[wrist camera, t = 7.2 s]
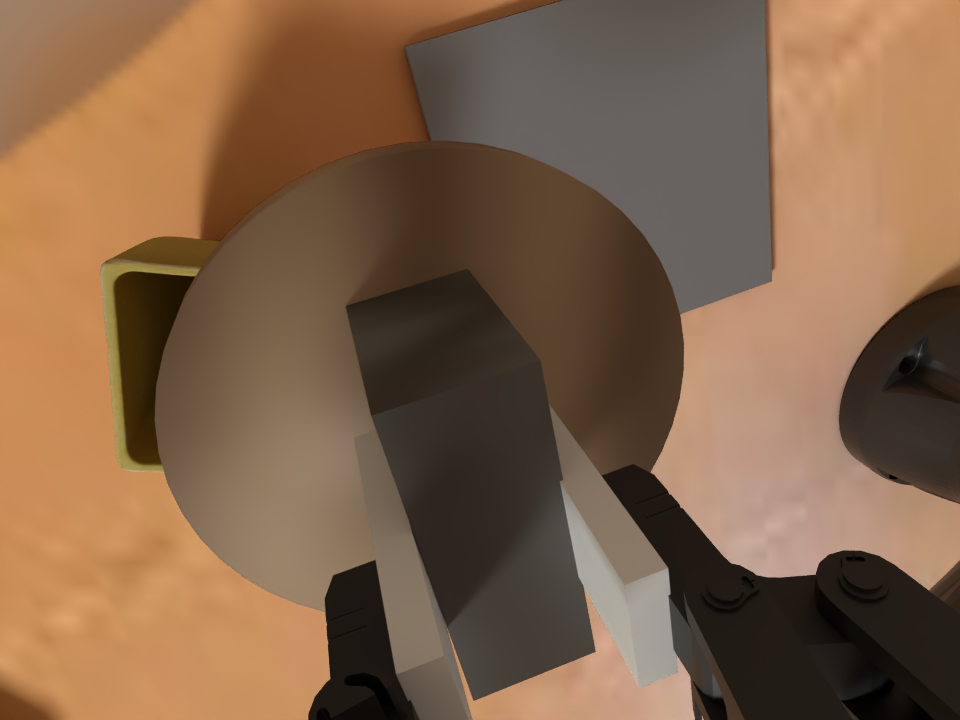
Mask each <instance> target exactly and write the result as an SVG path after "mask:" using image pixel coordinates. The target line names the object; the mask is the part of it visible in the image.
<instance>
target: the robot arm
mask: <svg viewBox="0 0 960 720" xmlns="http://www.w3.org/2000/svg"><path fill="white" fill-rule="evenodd" d="M549 407H550V413H551V418H552V423H553V428H554V434H555V439H556V444H557V450H558V455H559V460H560V466H561V471H562V476H563V480H562V481H560V485H561V490H562V495H563V500H564V505H565V510H566V515H567V520H568V525H569V531H570V536H571V541H572V546H573V551H574V556H575V561H576V566H577V571H578V576H579V578H580V580H581V582H582V584H583V586H584V588H585V589H586V591H587V593H588V595H589V597H590V599H591V600H592V602H593V604H594V606H595V608H596V610H597V611H598V613H599V615H600V617H601V619H602V620H603V622H604V624H605V626H606V628H607V630H608V631H609V633H610V635H611V637H612V639H613V641H614V642H615V644H616V646H617V648H618V650H619V652H620V653H621V655H622V657H623V659H624V661H625V662H626V664H627V666H628V668H629V670H630V672H631V673H632V675H633V677H634V679H635V681H636V683H637V684H638V686H639V688H642V687H644V686H646V685H649V684H651V683H654V682H656V681H658V680H661V679H663V678H666V677H668V676H670V675H673V674H675V673H677V672H678V667H677V656H678V657H679V659H680V661H681V662H682V664H683V665H684V667H685V668H686V670H687V672H688V673H689V675H690V677H691V690H692V702H693V711H694V716H695V720H702V717H703V719H704V720H960V561H959V562H958V563H957V564H956V565H955V566H954V567H953V568H952V569H951V570H950V571H949V572H948V573H947V574H946V575H945V576H944V577H943V578H942V579H940V580H939V581H938V582H937V583H936V584H935V585H934V586H933V587H932V588H931V589H930V590H927V589H926V588H925V587H923V586H922V585H921V584H919V583H918V582H917V581H915V580H914V579H913V578H911V577H910V576H909V575H907V574H906V573H905V572H903V571H902V570H901V569H899V568H898V567H897V566H895V565H894V564H892V563H890V562H889V561H887V560H885V559H883V558H882V557H880V556H877V555H874V554H870V553H867V552H863V551H845V550H843V551H840V552H836V553H833V554H830V555H828V556H827V557H826V558H824V559H823V560H822V561H821V562H820V563H819V565H818V568H817V572H816V575H807V576H795V577H783V578H768V577H762V576H757V575H755V574H754V573H753V572H751V571H749V570H748V569H746V568H744V567H742V566H740V565H736V564H731V563H730V562H729V561H728V560H727V559H726V558H725V557H723V555H722V554H721V553H720V552H719V551H718V550H717V548H716V547H715V546H714V545H713V544H712V542H711V541H710V540H709V539H708V538H707V537H706V535H705V534H704V533H703V532H702V531H701V529H700V528H699V527H698V526H697V525H696V524H695V522H694V521H693V520H692V519H691V518H690V516H689V515H688V514H687V513H686V512H685V511H684V509H683V508H680V505H679V504H678V502H677V501H676V500H675V499H674V498H673V496H672V495H669V493H668V491H667V489H666V488H665V487H664V486H663V485H662V483H661V482H660V481H659V480H658V479H657V478H656V476H655V475H653V474H652V473H650V472H648V471H646V470H644V469H642V468H640V467H638V466H636V465H635V464H632V465H629V466H626V467H623V468H621V469H618V470H615V471H612V472H610V473H607V474H604V475H600V473H599V472H598V471H597V469H596V468H595V466H594V465H593V464H592V462H591V461H590V460H589V458H588V457H587V455H586V454H585V453H584V451H583V450H582V449H581V447H580V446H579V444H578V443H577V442H576V440H575V439H574V437H573V436H572V435H571V433H570V432H569V431H568V429H567V428H566V426H565V425H564V424H563V422H562V421H561V420H560V418H559V417H558V415H557V414H556V413H555V411H554V410H553V409H552V407H551V406H550V404H549ZM839 426H840V433H841V437H842V440H843V442H844V445H845V446H846V448H847V450H848V451H849V452H850V453H851V455H852V456H853V457H855V458H856V459H857V460H858V461H860V462H861V463H863V464H864V465H865V466H867V467H868V468H869V469H871V470H872V471H874V472H875V473H876V474H878V475H880V476H881V477H883V478H885V479H887V480H890V481H893V482H896V483H900V484H905V485H912V486H914V487H916V488H918V489H920V490H923V491H925V492H928V493H930V494H933V495H935V496H938V497H941V498H944V499H947V500H950V501H953V502H956V503H959V504H960V286H955V287H950V288H947V289H943V290H940V291H938V292H935V293H933V294H931V295H929V296H927V297H925V298H923V299H921V300H919V301H917V302H916V303H914V304H913V305H911V306H910V307H908V308H907V309H905V310H904V311H903V312H901V313H900V314H899V315H898V316H896V317H895V318H894V319H893V320H892V321H891V322H890V323H889V324H887V325H886V326H885V327H884V328H883V329H882V330H881V332H880V333H879V334H878V335H877V336H876V337H875V338H874V339H873V341H872V342H871V343H870V344H869V346H868V347H867V348H866V350H865V351H864V352H863V354H862V355H861V357H860V359H859V360H858V362H857V363H856V365H855V367H854V369H853V371H852V373H851V375H850V377H849V379H848V382H847V384H846V387H845V390H844V393H843V396H842V400H841V405H840V413H839ZM354 442H355V448H356V453H357V459H358V465H359V470H360V476H361V481H362V487H363V493H364V498H365V504H366V509H367V515H368V520H369V526H370V532H371V537H372V543H373V548H374V554H375V560H373V561H371V562H368V563H365V564H362V565H360V566H357V567H354V568H352V569H349V570H346V571H343V572H341V573H338V574H335V575H333V577H332V580H331V582H330V585H329V588H328V590H327V593H326V596H325V612H326V622H327V639H328V643H329V644H328V652H329V665H330V678H331V679H330V680H329V681H328V682H326V684H325V685H324V686H323V687H322V689H321V690H320V691H319V693H318V694H317V695H316V696H315V698H314V701H313V704H312V706H311V709H310V711H309V714H308V720H472V716H471V713H470V709H469V706H468V702H467V699H466V695H465V691H464V688H463V684H462V681H461V677H460V673H459V670H458V666H457V663H456V659H455V656H454V652H453V648H452V645H451V641H450V638H449V634H448V630H447V627H446V623H445V620H444V617H443V614H442V611H441V609H440V606H439V603H438V600H437V598H436V595H435V592H434V589H433V586H432V584H431V581H430V578H429V575H428V573H427V570H426V567H425V564H424V562H423V559H422V556H421V553H420V550H419V548H418V545H417V542H416V539H415V537H414V534H413V531H412V528H411V526H410V523H409V520H408V517H407V514H406V512H405V509H404V506H403V503H402V501H401V498H400V495H399V492H398V489H397V487H396V484H395V481H394V478H393V476H392V473H391V470H390V467H389V465H388V462H387V459H386V456H385V453H384V451H383V448H382V445H381V442H380V440H379V437H378V434H377V431H376V430H374V431H371V432H368V433H365V434H362V435H359V436H356V437H354ZM676 654H677V656H676Z"/></svg>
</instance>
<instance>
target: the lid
mask: <svg viewBox="0 0 960 720" xmlns="http://www.w3.org/2000/svg"><path fill="white" fill-rule="evenodd" d="M683 371H684V341H683V333H682V325H681V318H680V312H679V309H678V305H677V302H676V298H675V295H674V291H673V288H672V285H671V283H670V281H669V279H668V276H667V274H666V272H665V270H664V268H663V265H662V263H661V261H660V259H659V258H658V256H657V255H656V253H655V252H654V250H653V249H652V247H651V245H650V244H649V242H648V241H647V239H646V238H645V236H644V235H643V234H642V233H641V231H640V230H639V229H638V228H637V227H636V226H635V225H634V224H633V223H632V222H631V220H630V219H629V218H628V217H627V216H626V215H625V214H624V213H623V212H622V211H621V210H620V209H619V208H617V207H616V206H615V205H614V204H612V203H611V202H610V201H609V200H608V199H606V198H605V197H604V196H603V195H601V194H600V193H599V192H598V191H596V190H595V189H593V188H591V187H589V186H588V185H586V184H584V183H582V182H581V181H579V180H577V179H575V178H574V177H572V176H570V175H568V174H567V173H565V172H563V171H561V170H559V169H557V168H554V167H552V166H550V165H548V164H546V163H543V162H541V161H538V160H535V159H533V158H530V157H528V156H525V155H523V154H520V153H517V152H515V151H510V150H506V149H502V148H497V147H493V146H488V145H484V144H480V143H467V142H455V141H443V140H441V141H425V142H408V143H400V144H395V145H390V146H385V147H380V148H375V149H370V150H365V151H361V152H359V153H356V154H353V155H350V156H347V157H344V158H341V159H339V160H336V161H333V162H330V163H327V164H325V165H323V166H321V167H319V168H317V169H315V170H313V171H311V172H309V173H307V174H305V175H303V176H301V177H299V178H297V179H295V180H293V181H291V182H289V183H288V184H287V185H285V186H284V187H282V188H281V189H280V190H278V191H277V192H275V193H274V194H272V195H271V196H270V197H268V198H267V199H265V200H264V201H262V202H261V203H260V204H258V205H257V206H256V207H255V208H253V209H252V210H251V211H250V212H249V213H248V214H247V215H246V216H245V217H244V218H243V219H242V220H241V221H240V222H238V223H237V224H236V225H235V226H234V227H233V228H232V229H231V230H230V231H229V232H228V233H227V234H226V235H225V237H224V238H223V239H222V240H221V242H220V243H219V244H218V245H217V247H216V248H215V249H214V250H213V252H212V253H211V254H210V255H209V257H208V258H207V259H206V260H205V262H204V263H203V265H202V266H201V268H200V270H199V272H198V273H197V275H196V277H195V278H194V280H193V282H192V284H191V285H190V287H189V289H188V291H187V292H186V294H185V296H184V299H183V301H182V304H181V306H180V309H179V312H178V314H177V317H176V319H175V322H174V324H173V327H172V330H171V332H170V335H169V338H168V340H167V343H166V345H165V348H164V351H163V356H162V361H161V365H160V370H159V375H158V380H157V384H156V402H155V427H156V435H157V443H158V451H159V456H160V459H161V463H162V466H163V469H164V473H165V476H166V479H167V483H168V485H169V488H170V490H171V492H172V494H173V496H174V498H175V500H176V502H177V504H178V506H179V508H180V510H181V512H182V514H183V515H184V516H185V518H186V519H187V521H188V522H189V523H190V525H191V526H192V528H193V529H194V531H195V532H196V533H197V535H198V536H199V538H200V539H201V540H202V541H203V542H204V543H205V544H206V545H207V546H208V547H209V548H210V549H211V550H212V551H213V552H214V553H215V554H216V555H217V556H218V557H219V558H220V559H221V560H222V561H223V562H224V563H226V564H227V565H228V566H230V567H231V568H232V569H234V570H235V571H236V572H237V573H239V574H240V575H241V576H243V577H244V578H245V579H247V580H249V581H251V582H252V583H254V584H256V585H258V586H259V587H261V588H263V589H265V590H266V591H268V592H270V593H272V594H274V595H277V596H279V597H282V598H284V599H286V600H289V601H291V602H294V603H296V604H299V605H302V606H306V607H309V608H313V609H316V610H320V611H323V612H325V596H326V593H327V590H328V588H329V585H330V582H331V580H332V577H333V575H335V574H338V573H341V572H343V571H346V570H349V569H352V568H354V567H357V566H360V565H362V564H365V563H368V562H371V561H373V560H375V554H374V548H373V543H372V537H371V532H370V526H369V520H368V515H367V509H366V504H365V498H364V493H363V487H362V481H361V476H360V470H359V465H358V459H357V453H356V448H355V442H354V437H356V436H359V435H362V434H365V433H368V432H371V431H374V430H376V431H377V434H378V437H379V440H380V442H381V445H382V448H383V451H384V453H385V456H386V459H387V462H388V465H389V467H390V470H391V473H392V476H393V478H394V481H395V484H396V487H397V489H398V492H399V495H400V498H401V501H402V503H403V506H404V509H405V512H406V514H407V517H408V520H409V523H410V526H411V528H412V531H413V534H414V537H415V539H416V542H417V545H418V548H419V550H420V553H421V556H422V559H423V562H424V564H425V567H426V570H427V573H428V575H429V578H430V581H431V584H432V586H433V589H434V592H435V595H436V598H437V600H438V603H439V606H440V609H441V611H442V614H443V617H444V620H445V623H446V625H447V628H448V631H449V634H450V636H451V639H452V642H453V645H454V647H455V650H456V653H457V656H458V659H459V661H460V664H461V667H462V670H463V672H464V675H465V678H466V681H467V684H468V686H469V689H470V692H471V695H472V697H473V700H474V701H475V700H477V699H479V698H482V697H484V696H487V695H489V694H492V693H494V692H497V691H499V690H502V689H504V688H507V687H509V686H512V685H514V684H517V683H519V682H522V681H524V680H527V679H529V678H532V677H534V676H537V675H539V674H542V673H544V672H547V671H549V670H552V669H554V668H556V667H559V666H561V665H564V664H566V663H569V662H571V661H574V660H576V659H579V658H581V657H584V656H586V655H589V654H591V653H594V652H596V651H595V646H594V640H593V635H592V630H591V624H590V619H589V614H588V609H587V603H586V598H585V593H584V587H583V584H582V582H581V580H580V578H579V576H578V571H577V566H576V561H575V556H574V551H573V546H572V541H571V536H570V531H569V525H568V520H567V515H566V510H565V505H564V500H563V495H562V490H561V485H560V481H562V480H563V476H562V471H561V466H560V460H559V455H558V450H557V444H556V439H555V434H554V428H553V423H552V418H551V413H550V407H549V404H550V406H551V407H552V409H553V410H554V411H555V413H556V414H557V415H558V417H559V418H560V420H561V421H562V422H563V424H564V425H565V426H566V428H567V429H568V431H569V432H570V433H571V435H572V436H573V437H574V439H575V440H576V442H577V443H578V444H579V446H580V447H581V449H582V450H583V451H584V453H585V454H586V455H587V457H588V458H589V460H590V461H591V462H592V464H593V465H594V466H595V468H596V469H597V471H598V472H599V473H600V475H604V474H607V473H610V472H612V471H615V470H618V469H621V468H623V467H626V466H629V465H632V464H635V465H636V466H638V467H640V468H642V469H644V470H646V471H648V472H651V470H652V468H653V466H654V465H655V463H656V461H657V459H658V457H659V455H660V453H661V452H662V449H663V447H664V444H665V442H666V439H667V437H668V434H669V432H670V430H671V427H672V424H673V421H674V417H675V413H676V410H677V406H678V402H679V399H680V392H681V385H682V378H683Z"/></svg>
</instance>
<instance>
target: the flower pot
mask: <svg viewBox="0 0 960 720" xmlns="http://www.w3.org/2000/svg"><path fill="white" fill-rule="evenodd" d="M220 242H221V241H212V240H202V239H193V238H183V237H157V238H153V239H150V240H147V241H145V242H143V243H141V244H139V245H137V246H135V247H133V248H131V249H129V250H127V251H125V252H123V253H121V254H119V255H117V256H115V257H114V258H112V259H109V260H107V261H106V262H105V263H103V264H102V265H101V270H100V276H101V289H102V296H103V307H104V319H105V328H106V337H107V347H108V360H109V371H110V384H111V396H112V406H113V423H114V432H115V445H116V454H117V460H118V464H119V466H120V468H121V469H123V470H128V471H135V472H164V469H163V466H162V463H161V459H160V456H159V451H158V443H157V435H156V427H155V402H156V384H157V380H158V375H159V370H160V365H161V361H162V356H163V351H164V348H165V345H166V343H167V340H168V338H169V335H170V332H171V330H172V327H173V324H174V322H175V319H176V317H177V314H178V312H179V309H180V306H181V304H182V301H183V299H184V296H185V294H186V292H187V291H188V289H189V287H190V285H191V284H192V282H193V280H194V278H195V277H196V275H197V273H198V272H199V270H200V268H201V266H202V265H203V263H204V262H205V260H206V259H207V258H208V257H209V255H210V254H211V253H212V252H213V250H214V249H215V248H216V247H217V245H218V244H219V243H220Z"/></svg>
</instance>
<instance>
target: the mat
mask: <svg viewBox="0 0 960 720" xmlns="http://www.w3.org/2000/svg"><path fill="white" fill-rule="evenodd" d="M404 49H405V52H406V56H407V60H408V63H409V67H410V70H411V74H412V78H413V81H414V85H415V88H416V92H417V96H418V99H419V103H420V106H421V110H422V114H423V117H424V121H425V124H426V128H427V132H428V135H429V139H430V141H441V140H443V141H455V142H467V143H480V144H484V145H488V146H493V147H497V148H502V149H506V150H510V151H515V152H517V153H520V154H523V155H525V156H528V157H530V158H533V159H535V160H538V161H541V162H543V163H546V164H548V165H550V166H552V167H554V168H557V169H559V170H561V171H563V172H565V173H567V174H568V175H570V176H572V177H574V178H575V179H577V180H579V181H581V182H582V183H584V184H586V185H588V186H589V187H591V188H593V189H595V190H596V191H598V192H599V193H600V194H601V195H603V196H604V197H605V198H606V199H608V200H609V201H610V202H611V203H612V204H614V205H615V206H616V207H617V208H619V209H620V210H621V211H622V212H623V213H624V214H625V215H626V216H627V217H628V218H629V219H630V220H631V222H632V223H633V224H634V225H635V226H636V227H637V228H638V229H639V230H640V231H641V233H642V234H643V235H644V236H645V238H646V239H647V241H648V242H649V244H650V245H651V247H652V249H653V250H654V252H655V253H656V255H657V256H658V258H659V259H660V261H661V263H662V265H663V268H664V270H665V272H666V274H667V276H668V279H669V281H670V283H671V285H672V288H673V291H674V295H675V298H676V302H677V305H678V309H679V312H680V314H682V313H684V312H687V311H690V310H693V309H696V308H698V307H701V306H704V305H707V304H710V303H712V302H715V301H718V300H721V299H724V298H726V297H729V296H732V295H735V294H738V293H740V292H743V291H746V290H749V289H752V288H754V287H757V286H760V285H763V284H766V283H768V282H771V281H772V264H771V224H770V185H769V145H768V106H767V66H766V27H765V0H562V1H558V2H555V3H551V4H548V5H544V6H541V7H538V8H534V9H531V10H527V11H524V12H521V13H517V14H514V15H510V16H507V17H503V18H500V19H497V20H493V21H490V22H486V23H483V24H480V25H476V26H473V27H469V28H466V29H463V30H459V31H456V32H452V33H449V34H445V35H442V36H439V37H435V38H432V39H428V40H425V41H422V42H418V43H415V44H411V45H408V46H405V47H404Z"/></svg>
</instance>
